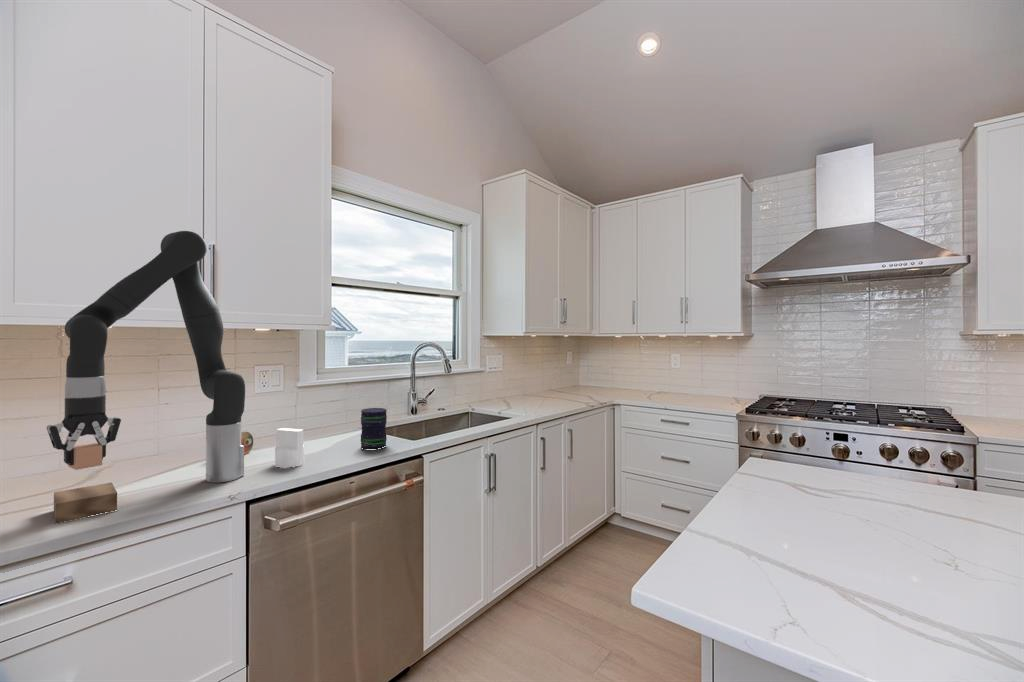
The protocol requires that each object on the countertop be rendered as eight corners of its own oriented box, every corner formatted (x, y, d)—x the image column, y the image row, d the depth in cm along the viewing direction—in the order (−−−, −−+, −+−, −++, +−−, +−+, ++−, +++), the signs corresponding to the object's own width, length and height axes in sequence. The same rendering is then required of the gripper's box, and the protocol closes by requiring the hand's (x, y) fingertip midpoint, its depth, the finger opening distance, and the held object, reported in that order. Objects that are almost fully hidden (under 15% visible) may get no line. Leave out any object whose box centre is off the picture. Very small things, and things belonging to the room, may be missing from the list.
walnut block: (111, 500, 123) (111, 482, 122) (117, 512, 115) (117, 492, 115) (53, 512, 115) (53, 492, 115) (55, 525, 107) (55, 504, 107)
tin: (221, 462, 158) (221, 438, 158) (213, 462, 158) (213, 438, 158) (254, 451, 172) (254, 429, 172) (246, 451, 173) (246, 429, 173)
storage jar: (379, 443, 188) (379, 407, 188) (391, 447, 181) (391, 410, 181) (356, 447, 182) (356, 409, 181) (367, 452, 174) (367, 413, 174)
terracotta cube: (94, 462, 118) (94, 442, 118) (102, 465, 115) (102, 445, 115) (68, 466, 114) (68, 446, 114) (75, 469, 111) (75, 449, 111)
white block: (268, 467, 154) (268, 431, 153) (287, 459, 162) (288, 426, 162) (291, 469, 152) (291, 433, 151) (309, 461, 160) (309, 427, 160)
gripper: (115, 390, 122) (114, 454, 123) (40, 396, 110) (40, 466, 110) (127, 393, 119) (126, 458, 119) (51, 399, 106) (51, 471, 106)
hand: (85, 461), depth 115 cm, fingers closed on terracotta cube, 5 cm apart
